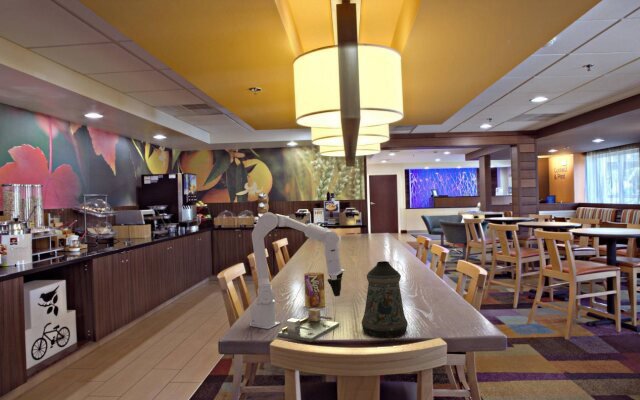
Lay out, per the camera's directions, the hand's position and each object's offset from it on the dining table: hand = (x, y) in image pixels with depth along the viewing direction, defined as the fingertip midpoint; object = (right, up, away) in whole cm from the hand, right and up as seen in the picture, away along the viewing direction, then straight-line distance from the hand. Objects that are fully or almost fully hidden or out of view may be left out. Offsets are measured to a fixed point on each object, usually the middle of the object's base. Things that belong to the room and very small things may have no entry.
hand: (337, 293), depth 171 cm
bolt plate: (-11, -11, -13) cm, 20 cm away
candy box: (-9, -11, +21) cm, 26 cm away
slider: (-7, -9, -6) cm, 13 cm away
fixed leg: (-14, -10, -18) cm, 25 cm away
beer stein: (+16, -10, -15) cm, 24 cm away
